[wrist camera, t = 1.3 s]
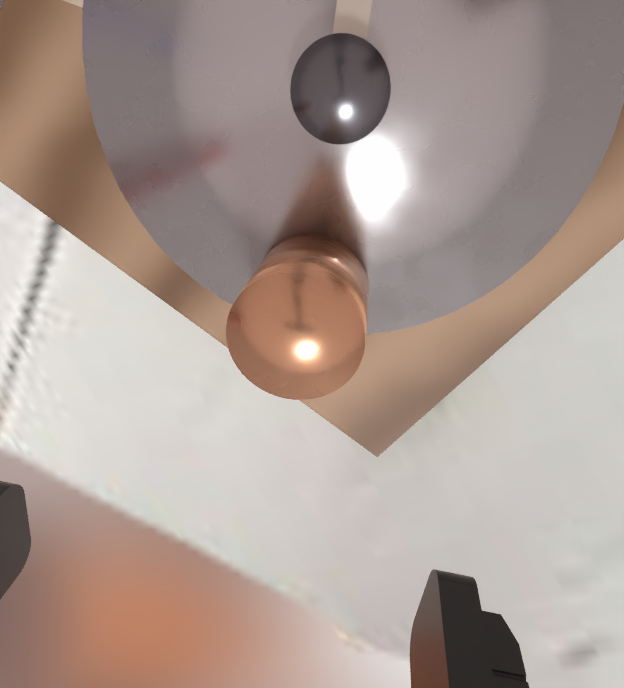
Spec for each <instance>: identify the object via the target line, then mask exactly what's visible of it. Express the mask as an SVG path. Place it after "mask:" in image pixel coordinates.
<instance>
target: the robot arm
mask: <svg viewBox="0 0 624 688" xmlns="http://www.w3.org/2000/svg"><path fill="white" fill-rule="evenodd" d="M30 547H31V536H30V529H29V522H28V515H27V508H26V501H25V494H24V490H23V488H22V487H21V486H20V485H17V484H12V483H7V482H3V481H0V599H1V598H2V596H3V595H4V594H5V592H6V591H7V590H8V588H9V587H10V586H11V584H12V583H13V582H14V580H15V579H16V578H17V576H18V575H19V574H20V572H21V571H22V569H23V567H24V565H25V563H26V561H27V558H28V555H29V552H30ZM410 670H411V688H529V685H528V682H526V672H525V668H524V664H523V660H522V655H521V651H520V647H519V644H518V642H517V640H516V639H515V637H514V635H513V634H512V632H511V630H510V629H509V627H508V625H507V624H506V622H505V621H504V619H503V617H502V616H501V614H496V613H491V612H486V611H481V605H480V599H479V594H478V588H477V584H476V581H475V579H474V578H473V577H469V576H464V575H459V574H454V573H449V572H444V571H439V570H432V571H431V573H430V575H429V578H428V581H427V584H426V587H425V590H424V593H423V596H422V599H421V602H420V605H419V607H418V610H417V613H416V616H415V619H414V623H413V627H412V633H411V642H410Z"/></svg>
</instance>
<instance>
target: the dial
mask: <svg viewBox="0 0 624 688" xmlns="http://www.w3.org/2000/svg"><path fill="white" fill-rule="evenodd" d="M82 53H83V62H84V72H85V81H86V89H87V94H88V98H89V103H90V108H91V112H92V117H93V121H94V125H95V128H96V131H97V134H98V137H99V140H100V143H101V146H102V149H103V152H104V155H105V158H106V160H107V162H108V165H109V167H110V169H111V171H112V173H113V175H114V178H115V180H116V182H117V184H118V186H119V189H120V190H121V192H122V194H123V195H124V197H125V199H126V200H127V202H128V204H129V205H130V207H131V209H132V210H133V212H134V214H135V215H136V217H137V218H138V220H139V221H140V222H141V224H142V225H143V226H144V228H145V229H146V230H147V232H148V233H149V234H150V236H151V237H152V238H153V240H154V241H155V242H156V243H157V244H158V245H159V247H160V248H161V249H162V250H163V251H164V252H165V253H166V254H167V255H168V256H169V257H170V258H171V259H172V260H173V261H174V262H175V263H176V264H177V265H178V266H179V267H180V268H181V269H182V270H183V271H185V272H186V273H187V274H188V275H189V276H191V277H192V278H193V279H194V280H195V281H197V282H198V283H199V284H200V285H201V286H203V287H205V288H206V289H208V290H209V291H211V292H212V293H214V294H215V295H217V296H218V297H220V298H221V299H223V300H224V301H226V302H228V303H230V304H232V307H231V309H230V312H229V315H228V318H227V324H226V339H227V345H228V348H229V352H230V354H231V356H232V359H233V361H234V362H235V364H236V366H237V367H238V369H239V370H240V371H241V372H242V374H243V375H244V376H245V377H246V378H247V379H248V380H249V381H251V382H252V383H253V384H254V385H256V386H257V387H259V388H260V389H262V390H264V391H266V392H268V393H270V394H273V395H275V396H278V397H282V398H286V399H294V400H306V399H314V398H319V397H322V396H325V395H328V394H330V393H332V392H334V391H336V390H338V389H339V388H341V387H342V386H343V385H345V384H346V383H347V382H348V381H349V380H350V379H351V378H352V376H353V375H354V374H355V372H356V371H357V369H358V368H359V365H360V363H361V361H362V358H363V355H364V349H365V340H366V334H373V333H381V332H390V331H395V330H400V329H404V328H408V327H412V326H416V325H420V324H424V323H426V322H429V321H432V320H434V319H437V318H440V317H442V316H445V315H448V314H451V313H453V312H455V311H457V310H458V309H460V308H462V307H464V306H466V305H468V304H470V303H472V302H474V301H476V300H478V299H480V298H481V297H483V296H484V295H486V294H487V293H489V292H490V291H492V290H493V289H495V288H496V287H498V286H499V285H501V284H502V283H504V282H505V281H507V280H508V279H509V278H510V277H512V276H513V275H514V274H515V273H516V272H517V271H519V270H520V269H521V268H522V267H523V266H525V265H526V264H527V263H528V262H529V261H530V260H532V259H533V258H534V257H535V256H536V254H537V253H538V252H539V251H540V250H541V249H542V248H543V247H544V246H545V245H546V244H547V243H548V242H549V241H550V240H551V239H552V237H553V236H554V235H555V234H556V233H557V232H558V231H559V229H560V228H561V227H562V225H563V224H564V223H565V221H566V220H567V219H568V217H569V216H570V215H571V213H572V212H573V211H574V209H575V208H576V207H577V205H578V204H579V202H580V200H581V199H582V197H583V195H584V194H585V192H586V190H587V188H588V187H589V185H590V183H591V182H592V180H593V178H594V176H595V175H596V173H597V171H598V169H599V167H600V165H601V163H602V160H603V158H604V156H605V153H606V151H607V149H608V147H609V144H610V142H611V140H612V137H613V135H614V133H615V129H616V126H617V123H618V120H619V116H620V113H621V110H622V106H623V103H624V0H84V1H83V9H82Z"/></svg>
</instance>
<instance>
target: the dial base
mask: <svg viewBox="0 0 624 688" xmlns="http://www.w3.org/2000/svg"><path fill="white" fill-rule="evenodd" d="M83 1H84V0H4V3H3V5H2V8H1V10H0V182H2V183H3V184H4V185H6V186H7V187H9V188H10V189H11V190H13V191H14V192H15V193H17V194H18V195H19V196H21V197H22V198H24V199H25V200H26V201H28V202H29V203H30V204H32V205H33V206H35V207H36V208H37V209H39V210H40V211H41V212H43V213H44V214H45V215H47V216H48V217H50V218H51V219H52V220H54V221H55V222H56V223H58V224H59V225H61V226H62V227H63V228H65V229H66V230H67V231H69V232H70V233H71V234H73V235H74V236H76V237H77V238H78V239H80V240H81V241H82V242H84V243H85V244H87V245H88V246H89V247H91V248H92V249H93V250H95V251H96V252H97V253H99V254H100V255H102V256H103V257H104V258H106V259H107V260H108V261H110V262H111V263H113V264H114V265H115V266H117V267H118V268H119V269H121V270H122V271H123V272H125V273H126V274H128V275H129V276H130V277H132V278H133V279H134V280H136V281H137V282H139V283H140V284H141V285H143V286H144V287H145V288H147V289H148V290H149V291H151V292H152V293H154V294H155V295H156V296H158V297H159V298H160V299H162V300H163V301H165V302H166V303H167V304H169V305H170V306H171V307H173V308H174V309H175V310H177V311H178V312H180V313H181V314H182V315H184V316H185V317H186V318H188V319H189V320H191V321H192V322H193V323H195V324H196V325H197V326H199V327H200V328H201V329H203V330H204V331H206V332H207V333H208V334H210V335H211V336H212V337H214V338H215V339H217V340H218V341H219V342H221V343H222V344H223V345H225V346H226V347H227V348H228V345H227V339H226V324H227V318H228V315H229V312H230V309H231V307H232V304H230V303H228V302H226V301H224V300H223V299H221V298H220V297H218V296H217V295H215V294H214V293H212V292H211V291H209V290H208V289H206V288H205V287H203V286H201V285H200V284H199V283H198V282H197V281H195V280H194V279H193V278H192V277H191V276H189V275H188V274H187V273H186V272H185V271H183V270H182V269H181V268H180V267H179V266H178V265H177V264H176V263H175V262H174V261H173V260H172V259H171V258H170V257H169V256H168V255H167V254H166V253H165V252H164V251H163V250H162V249H161V248H160V247H159V245H158V244H157V243H156V242H155V241H154V240H153V238H152V237H151V236H150V234H149V233H148V232H147V230H146V229H145V228H144V226H143V225H142V224H141V222H140V221H139V220H138V218H137V217H136V215H135V214H134V212H133V210H132V209H131V207H130V205H129V204H128V202H127V200H126V199H125V197H124V195H123V194H122V192H121V190H120V189H119V186H118V184H117V182H116V180H115V178H114V175H113V173H112V171H111V169H110V167H109V165H108V162H107V160H106V158H105V155H104V152H103V149H102V146H101V143H100V140H99V137H98V134H97V131H96V128H95V125H94V121H93V117H92V112H91V108H90V103H89V98H88V94H87V89H86V81H85V72H84V62H83V53H82V9H83ZM623 239H624V103H623V106H622V110H621V113H620V116H619V120H618V123H617V126H616V129H615V133H614V135H613V137H612V140H611V142H610V144H609V147H608V149H607V151H606V153H605V156H604V158H603V160H602V163H601V165H600V167H599V169H598V171H597V173H596V175H595V176H594V178H593V180H592V182H591V183H590V185H589V187H588V188H587V190H586V192H585V194H584V195H583V197H582V199H581V200H580V202H579V204H578V205H577V207H576V208H575V209H574V211H573V212H572V213H571V215H570V216H569V217H568V219H567V220H566V221H565V223H564V224H563V225H562V227H561V228H560V229H559V231H558V232H557V233H556V234H555V235H554V236H553V237H552V239H551V240H550V241H549V242H548V243H547V244H546V245H545V246H544V247H543V248H542V249H541V250H540V251H539V252H538V253H537V254H536V256H535V257H534V258H533V259H532V260H530V261H529V262H528V263H527V264H526V265H525V266H523V267H522V268H521V269H520V270H519V271H517V272H516V273H515V274H514V275H513V276H512V277H510V278H509V279H508V280H507V281H505V282H504V283H502V284H501V285H499V286H498V287H496V288H495V289H493V290H492V291H490V292H489V293H487V294H486V295H484V296H483V297H481V298H480V299H478V300H476V301H474V302H472V303H470V304H468V305H466V306H464V307H462V308H460V309H458V310H457V311H455V312H453V313H451V314H448V315H445V316H442V317H440V318H437V319H434V320H432V321H429V322H426V323H424V324H420V325H416V326H412V327H408V328H404V329H400V330H395V331H390V332H381V333H373V334H366V340H365V349H364V355H363V358H362V361H361V363H360V365H359V368H358V369H357V371H356V372H355V374H354V375H353V376H352V378H351V379H350V380H349V381H348V382H347V383H346V384H345V385H343V386H342V387H341V388H339V389H338V390H336V391H334V392H332V393H330V394H328V395H325V396H322V397H319V398H314V399H306V400H300V401H301V402H303V403H304V404H305V405H307V406H308V407H310V408H311V409H312V410H314V411H315V412H316V413H318V414H319V415H320V416H322V417H323V418H325V419H326V420H327V421H329V422H330V423H331V424H333V425H334V426H336V427H337V428H338V429H340V430H341V431H342V432H344V433H345V434H346V435H348V436H349V437H351V438H352V439H353V440H355V441H356V442H357V443H359V444H360V445H362V446H363V447H364V448H366V449H367V450H368V451H370V452H371V453H372V454H374V455H375V456H377V457H378V456H379V455H380V454H381V453H382V452H383V451H384V450H386V449H387V448H388V447H389V446H390V445H391V444H392V443H394V442H395V441H396V440H397V439H398V438H399V437H400V436H401V435H403V434H404V433H405V432H406V431H407V430H408V429H409V428H410V427H412V426H413V425H414V424H415V423H416V422H417V421H418V420H419V419H421V418H422V417H423V416H424V415H425V414H426V413H427V412H429V411H430V410H431V409H432V408H433V407H434V406H435V405H436V404H438V403H439V402H440V401H441V400H442V399H443V398H444V397H445V396H447V395H448V394H449V393H450V392H451V391H452V390H453V389H455V388H456V387H457V386H458V385H459V384H460V383H461V382H462V381H464V380H465V379H466V378H467V377H468V376H469V375H470V374H471V373H473V372H474V371H475V370H476V369H477V368H478V367H479V366H480V365H482V364H483V363H484V362H485V361H486V360H487V359H488V358H490V357H491V356H492V355H493V354H494V353H495V352H496V351H497V350H499V349H500V348H501V347H502V346H503V345H504V344H505V343H506V342H508V341H509V340H510V339H511V338H512V337H513V336H514V335H515V334H517V333H518V332H519V331H520V330H521V329H522V328H523V327H525V326H526V325H527V324H528V323H529V322H530V321H531V320H532V319H534V318H535V317H536V316H537V315H538V314H539V313H540V312H541V311H543V310H544V309H545V308H546V307H547V306H548V305H549V304H550V303H552V302H553V301H554V300H555V299H556V298H557V297H558V296H560V295H561V294H562V293H563V292H564V291H565V290H566V289H567V288H569V287H570V286H571V285H572V284H573V283H574V282H575V281H576V280H578V279H579V278H580V277H581V276H582V275H583V274H584V273H586V272H587V271H588V270H589V269H590V268H591V267H592V266H593V265H595V264H596V263H597V262H598V261H599V260H600V259H601V258H602V257H604V256H605V255H606V254H607V253H608V252H609V251H610V250H611V249H613V248H614V247H615V246H616V245H617V244H618V243H619V242H621V241H622V240H623Z"/></svg>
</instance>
